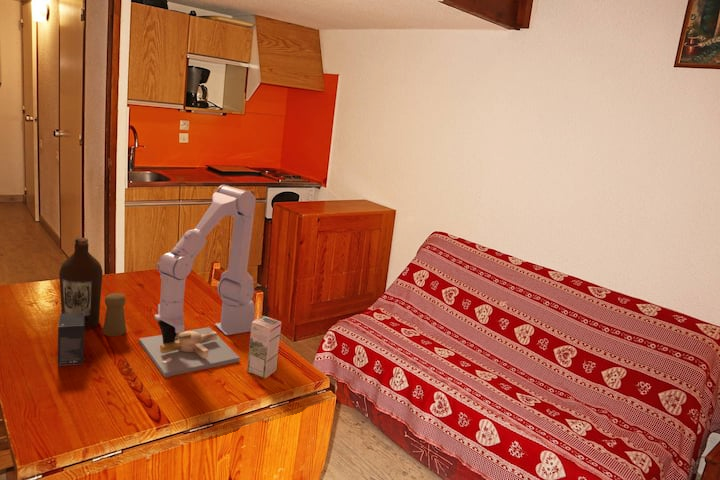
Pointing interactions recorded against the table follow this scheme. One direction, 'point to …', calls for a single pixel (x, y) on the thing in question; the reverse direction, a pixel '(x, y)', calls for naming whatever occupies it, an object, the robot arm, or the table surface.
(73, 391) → the table surface
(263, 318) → the syrup box
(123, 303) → the cork
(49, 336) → the table surface
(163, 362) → the stand board
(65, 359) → the box
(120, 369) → the table surface
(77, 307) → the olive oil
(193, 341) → the capstan
